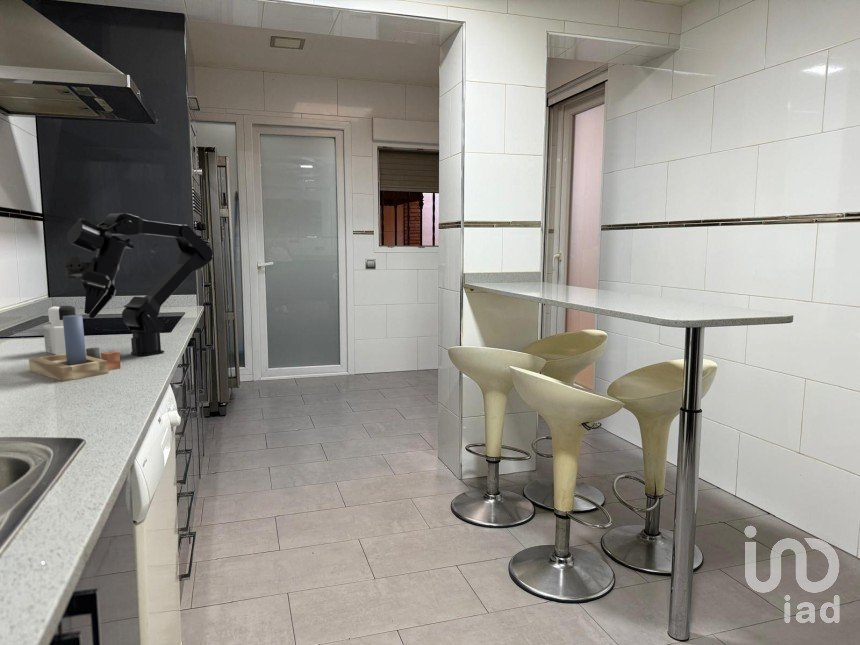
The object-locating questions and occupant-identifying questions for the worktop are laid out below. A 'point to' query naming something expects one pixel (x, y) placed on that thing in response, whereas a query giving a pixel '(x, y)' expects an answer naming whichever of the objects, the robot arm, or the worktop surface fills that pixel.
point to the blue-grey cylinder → (74, 339)
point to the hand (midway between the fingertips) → (89, 315)
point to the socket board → (61, 371)
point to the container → (56, 329)
